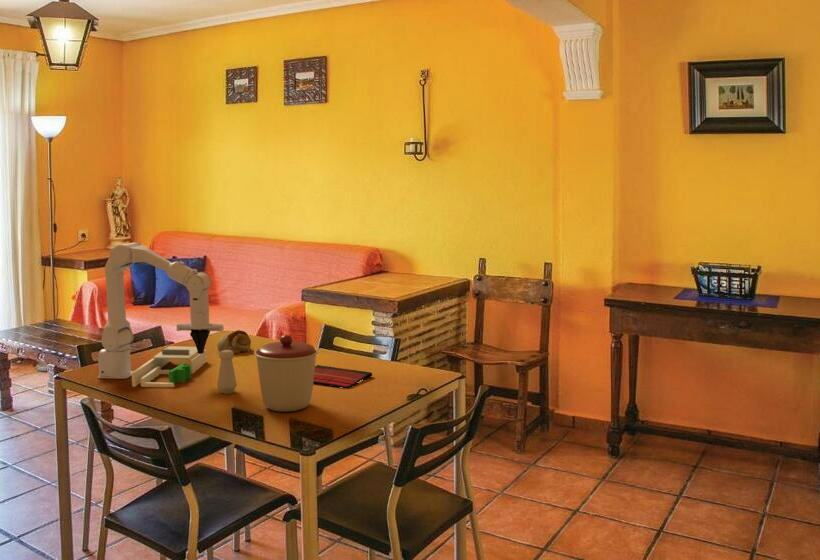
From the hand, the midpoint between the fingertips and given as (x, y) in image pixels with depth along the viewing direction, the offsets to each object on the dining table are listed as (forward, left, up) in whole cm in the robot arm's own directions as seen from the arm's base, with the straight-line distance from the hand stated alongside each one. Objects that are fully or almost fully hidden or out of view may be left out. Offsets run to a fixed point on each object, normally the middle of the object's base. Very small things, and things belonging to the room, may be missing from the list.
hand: (200, 352), depth 250 cm
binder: (+41, +5, -10) cm, 43 cm away
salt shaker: (+11, -12, -9) cm, 19 cm away
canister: (+32, -25, -9) cm, 42 cm away
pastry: (-1, +42, -10) cm, 43 cm away
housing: (-13, +8, -9) cm, 17 cm away
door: (-13, +15, -4) cm, 20 cm away
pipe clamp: (-7, 0, -10) cm, 12 cm away
